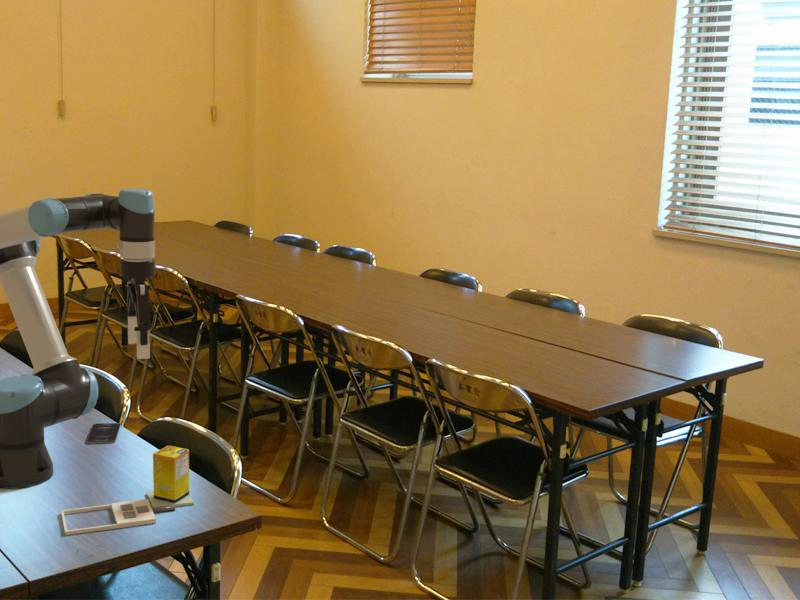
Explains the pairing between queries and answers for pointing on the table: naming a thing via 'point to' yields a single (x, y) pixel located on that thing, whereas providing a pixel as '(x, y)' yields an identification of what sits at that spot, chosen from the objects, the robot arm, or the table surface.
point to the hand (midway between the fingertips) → (138, 350)
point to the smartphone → (103, 433)
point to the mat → (160, 503)
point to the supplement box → (171, 473)
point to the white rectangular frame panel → (119, 515)
